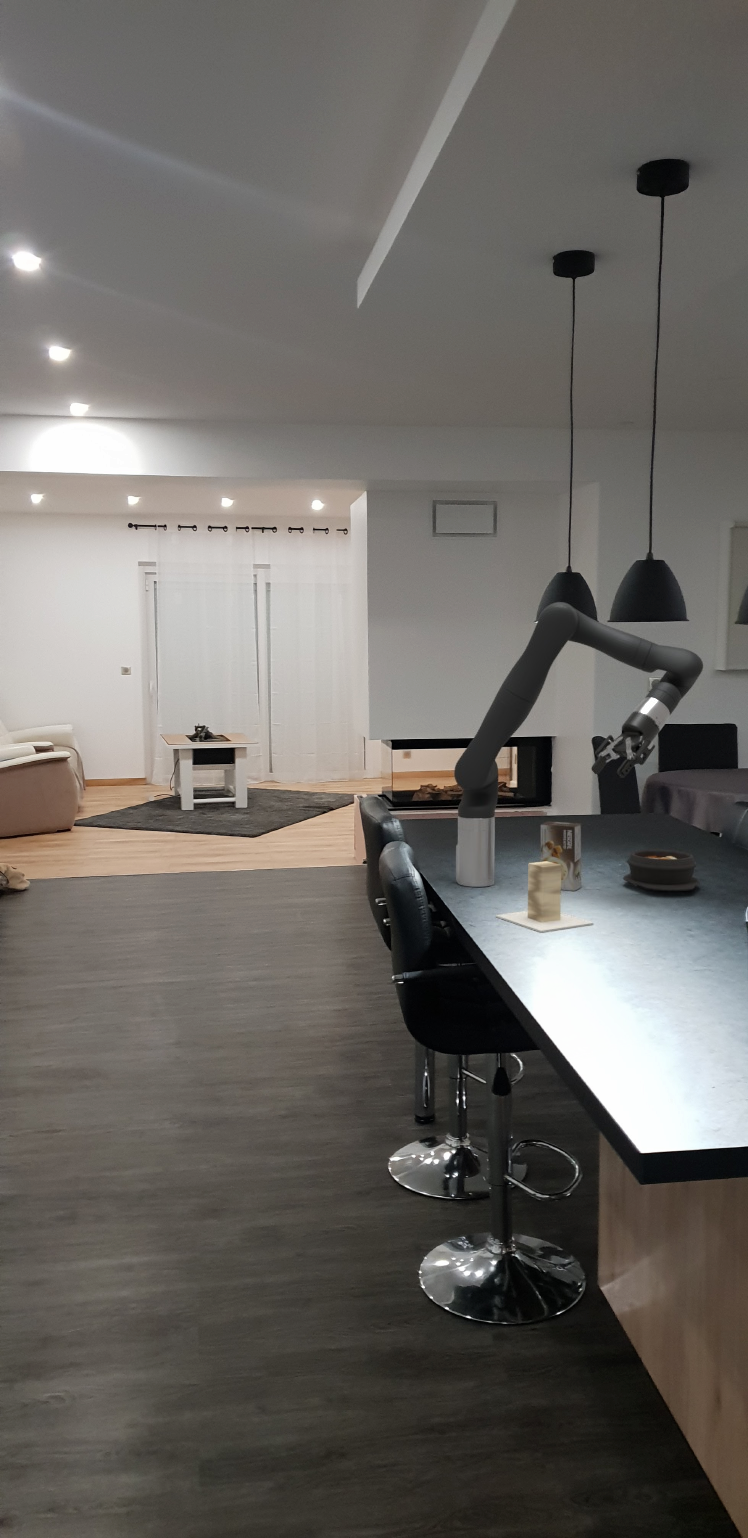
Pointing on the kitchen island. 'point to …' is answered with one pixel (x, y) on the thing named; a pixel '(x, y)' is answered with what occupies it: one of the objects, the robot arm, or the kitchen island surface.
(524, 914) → the felt mat
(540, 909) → the birch block
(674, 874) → the casserole
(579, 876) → the coffee box
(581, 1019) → the kitchen island surface
